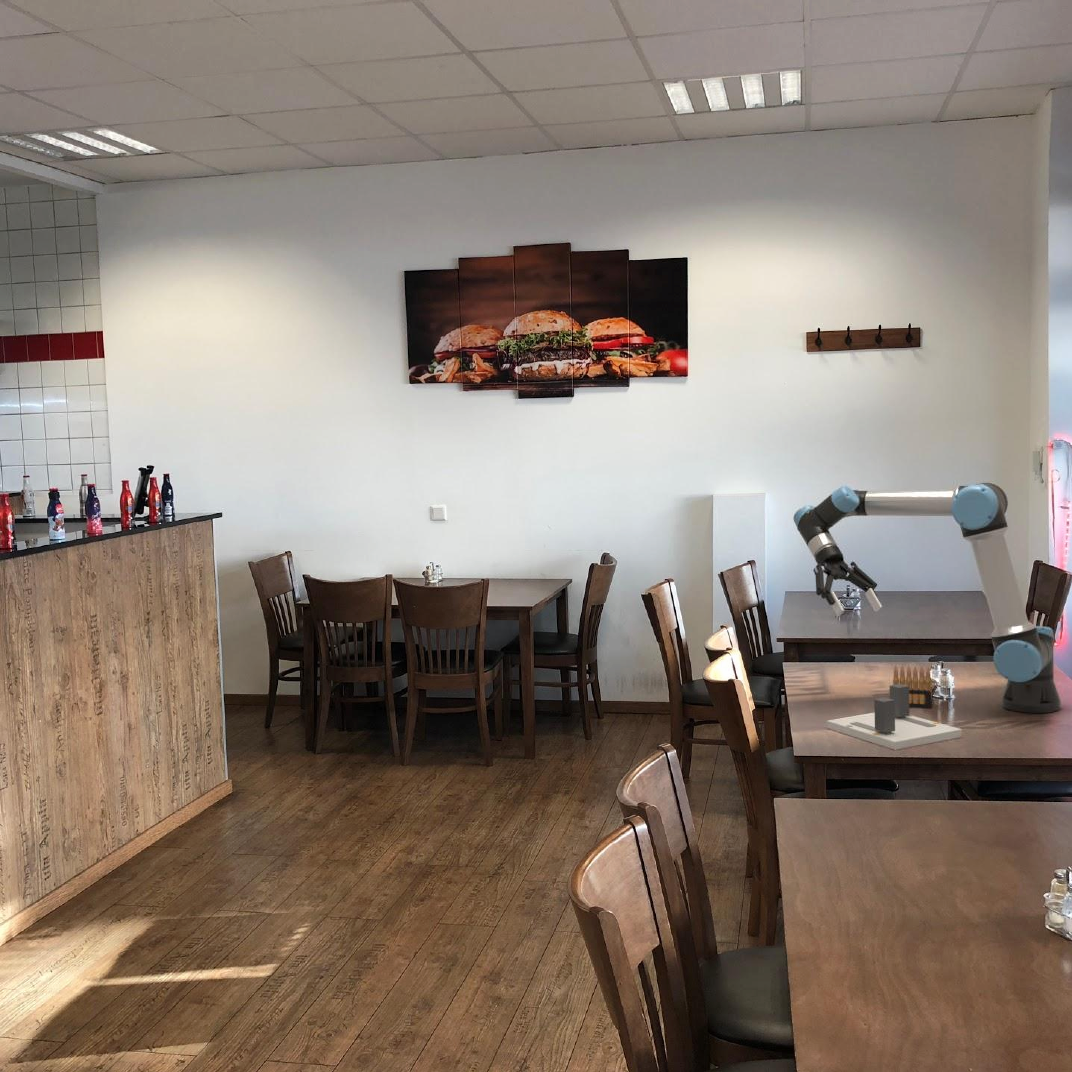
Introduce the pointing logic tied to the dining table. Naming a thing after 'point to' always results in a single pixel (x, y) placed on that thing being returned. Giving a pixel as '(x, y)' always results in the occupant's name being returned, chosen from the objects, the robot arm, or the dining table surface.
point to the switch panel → (904, 736)
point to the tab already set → (884, 715)
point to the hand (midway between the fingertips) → (859, 611)
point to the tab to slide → (900, 699)
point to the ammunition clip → (916, 686)
